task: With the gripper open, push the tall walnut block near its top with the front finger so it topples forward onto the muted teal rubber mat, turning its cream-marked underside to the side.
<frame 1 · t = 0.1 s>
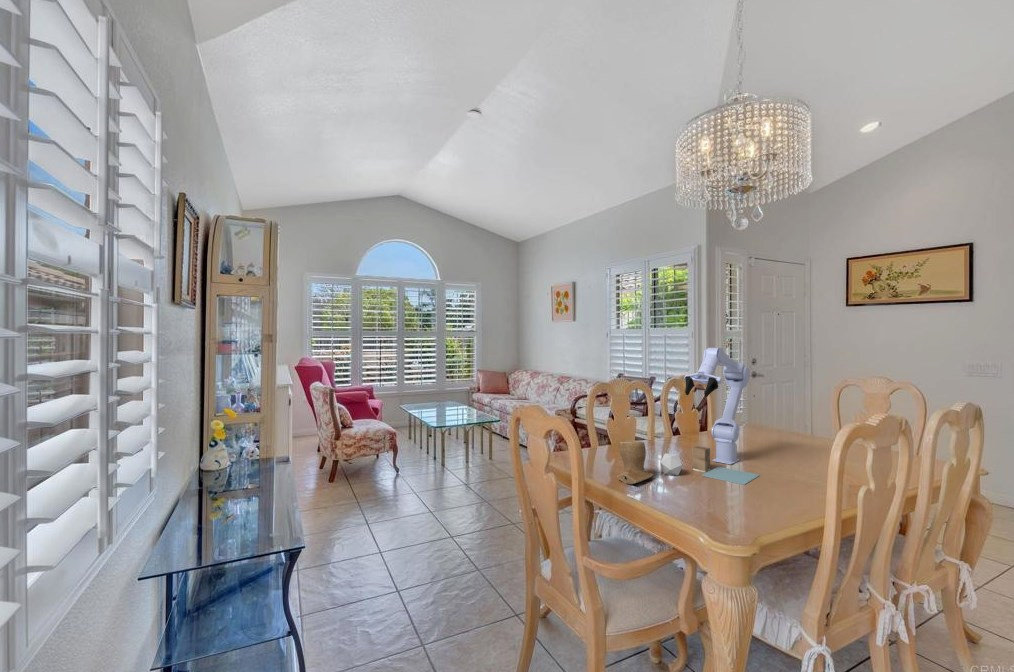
hand: (695, 394, 185), 32 cm above the table, tool tilted 50°, fingers open, 7 cm apart
walnut block: (701, 469, 192), on the table
die: (671, 474, 187), on the table
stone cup: (633, 480, 180), on the table
mat: (730, 475, 184), on the table
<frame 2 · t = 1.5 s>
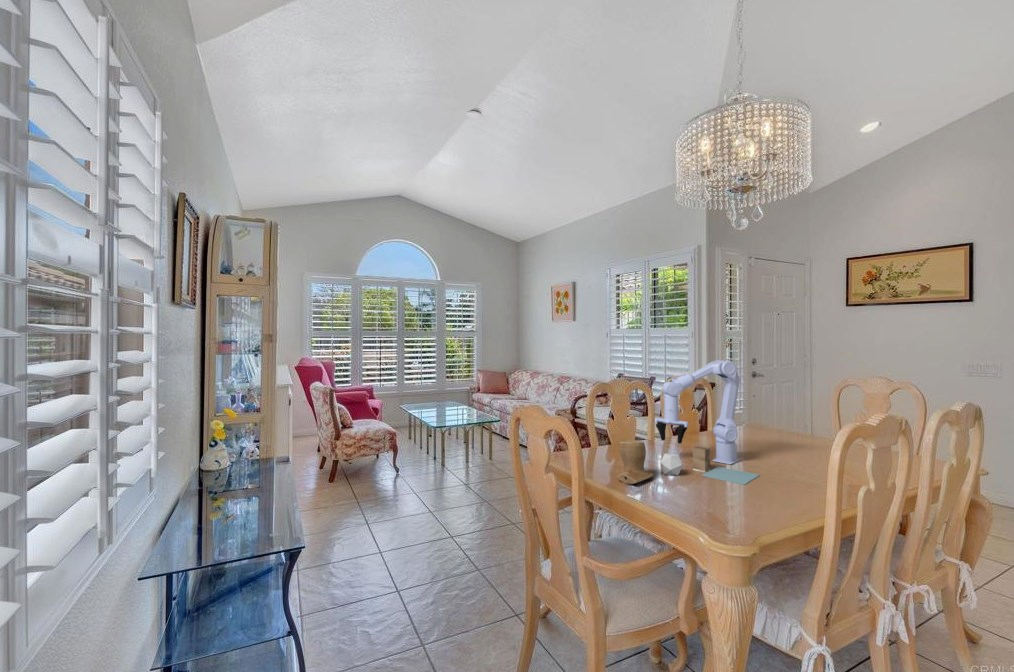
hand: (671, 441, 201), 9 cm above the table, tool pointing down, fingers open, 7 cm apart
nothing on the table moved.
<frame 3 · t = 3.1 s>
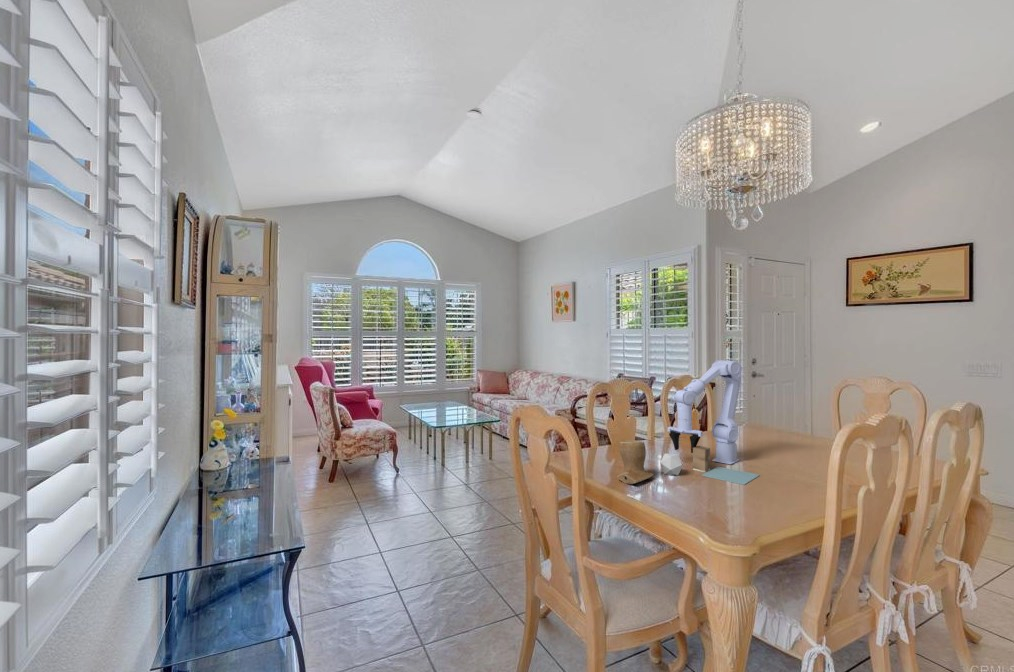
hand: (684, 451, 197), 6 cm above the table, tool pointing down, fingers open, 7 cm apart
walnut block: (701, 469, 192), on the table, touching gripper
everything else where it was.
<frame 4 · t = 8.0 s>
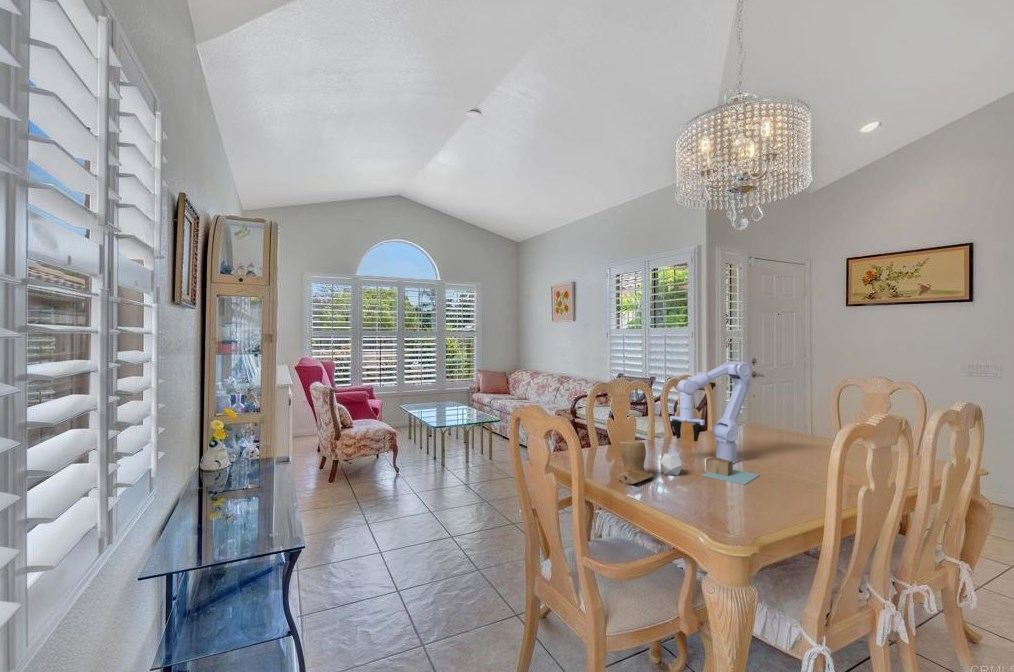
hand: (687, 439, 201), 10 cm above the table, tool pointing down, fingers open, 7 cm apart
walnut block: (707, 463, 190), point 3 cm above the table, tilted 90°, touching mat
everything else where it was.
at the end: walnut block tilted 90°; walnut block touching mat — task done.
